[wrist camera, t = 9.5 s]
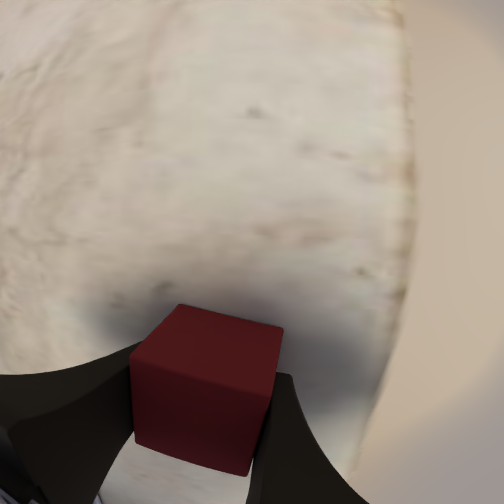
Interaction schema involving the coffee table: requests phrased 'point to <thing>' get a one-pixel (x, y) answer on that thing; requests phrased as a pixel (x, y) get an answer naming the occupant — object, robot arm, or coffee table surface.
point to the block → (204, 387)
